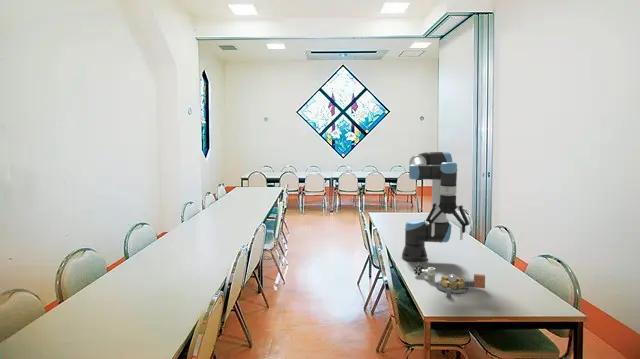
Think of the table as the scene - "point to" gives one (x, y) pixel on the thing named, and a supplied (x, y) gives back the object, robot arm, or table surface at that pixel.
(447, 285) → the tan and copper piece
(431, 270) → the valve
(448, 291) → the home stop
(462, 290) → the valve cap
